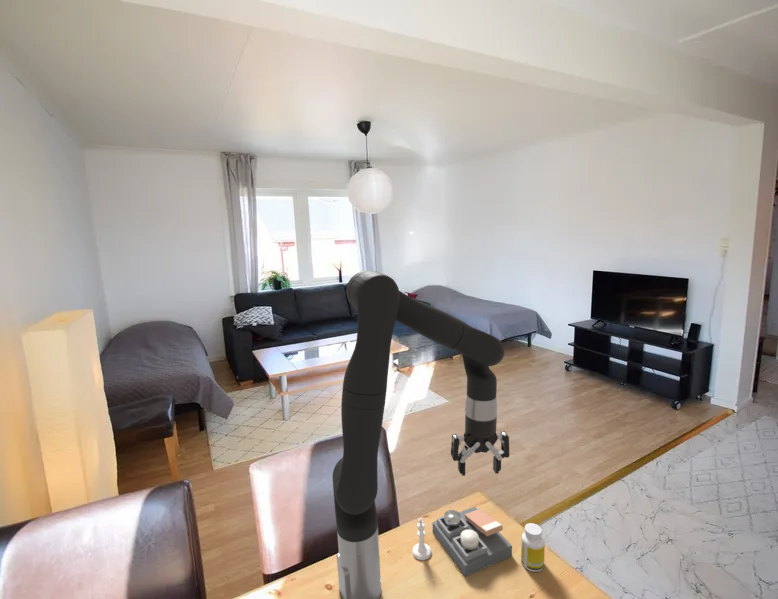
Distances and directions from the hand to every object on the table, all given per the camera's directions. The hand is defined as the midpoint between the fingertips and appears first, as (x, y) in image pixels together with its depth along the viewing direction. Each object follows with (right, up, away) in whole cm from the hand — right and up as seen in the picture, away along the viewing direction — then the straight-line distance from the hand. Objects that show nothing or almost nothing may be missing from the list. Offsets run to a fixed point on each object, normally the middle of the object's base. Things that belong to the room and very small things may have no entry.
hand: (479, 472), depth 101 cm
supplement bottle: (+13, -22, -1) cm, 26 cm away
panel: (-1, -21, +6) cm, 22 cm away
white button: (-2, -18, 0) cm, 18 cm away
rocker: (+2, -16, +6) cm, 17 cm away
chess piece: (-14, -22, +3) cm, 27 cm away
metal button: (-6, -16, +7) cm, 19 cm away
